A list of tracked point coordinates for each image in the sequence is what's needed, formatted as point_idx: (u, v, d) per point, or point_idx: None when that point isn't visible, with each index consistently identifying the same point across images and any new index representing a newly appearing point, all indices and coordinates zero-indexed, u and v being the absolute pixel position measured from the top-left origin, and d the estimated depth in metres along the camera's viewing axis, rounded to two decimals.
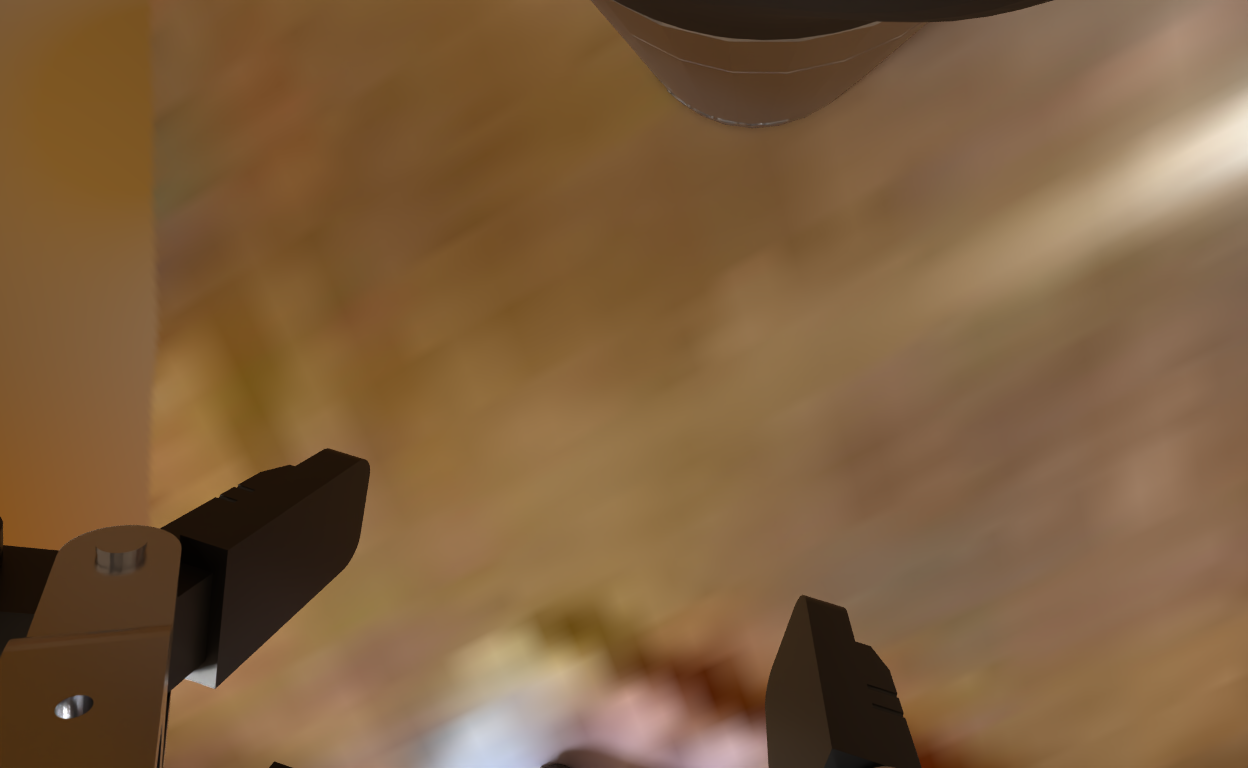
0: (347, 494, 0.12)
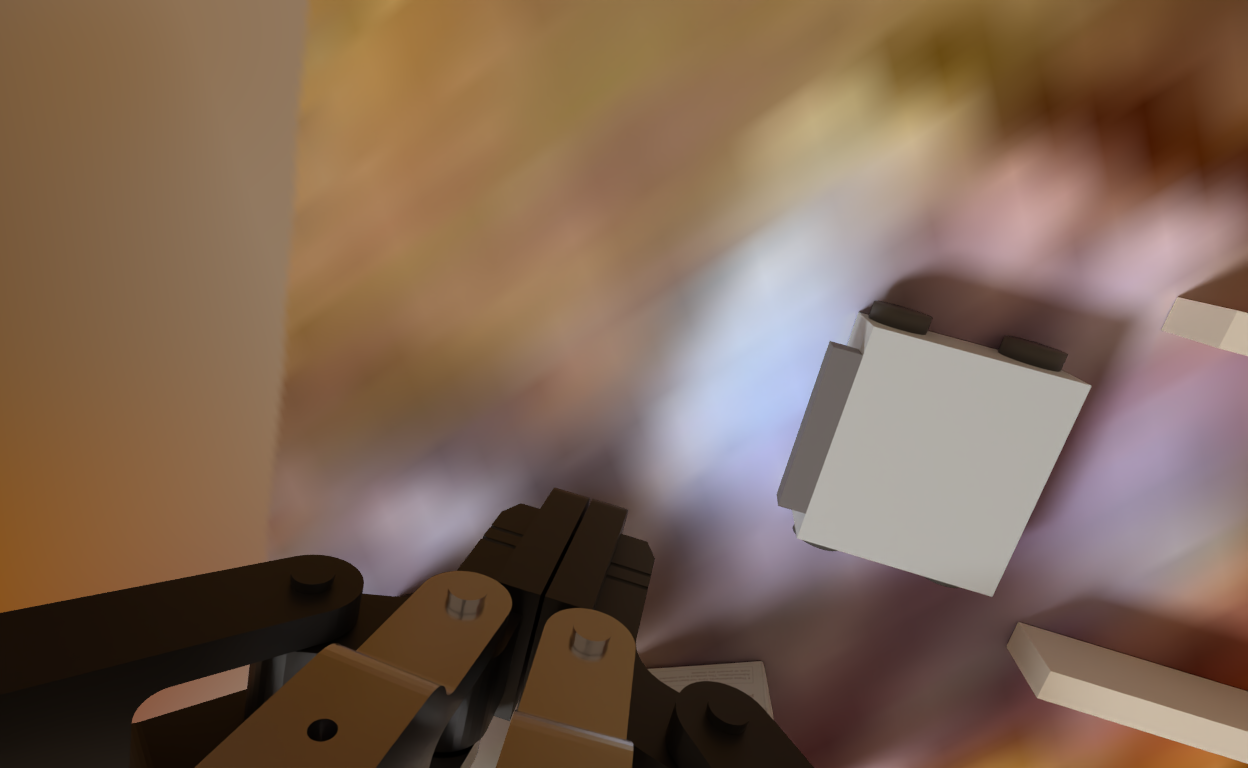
0: None
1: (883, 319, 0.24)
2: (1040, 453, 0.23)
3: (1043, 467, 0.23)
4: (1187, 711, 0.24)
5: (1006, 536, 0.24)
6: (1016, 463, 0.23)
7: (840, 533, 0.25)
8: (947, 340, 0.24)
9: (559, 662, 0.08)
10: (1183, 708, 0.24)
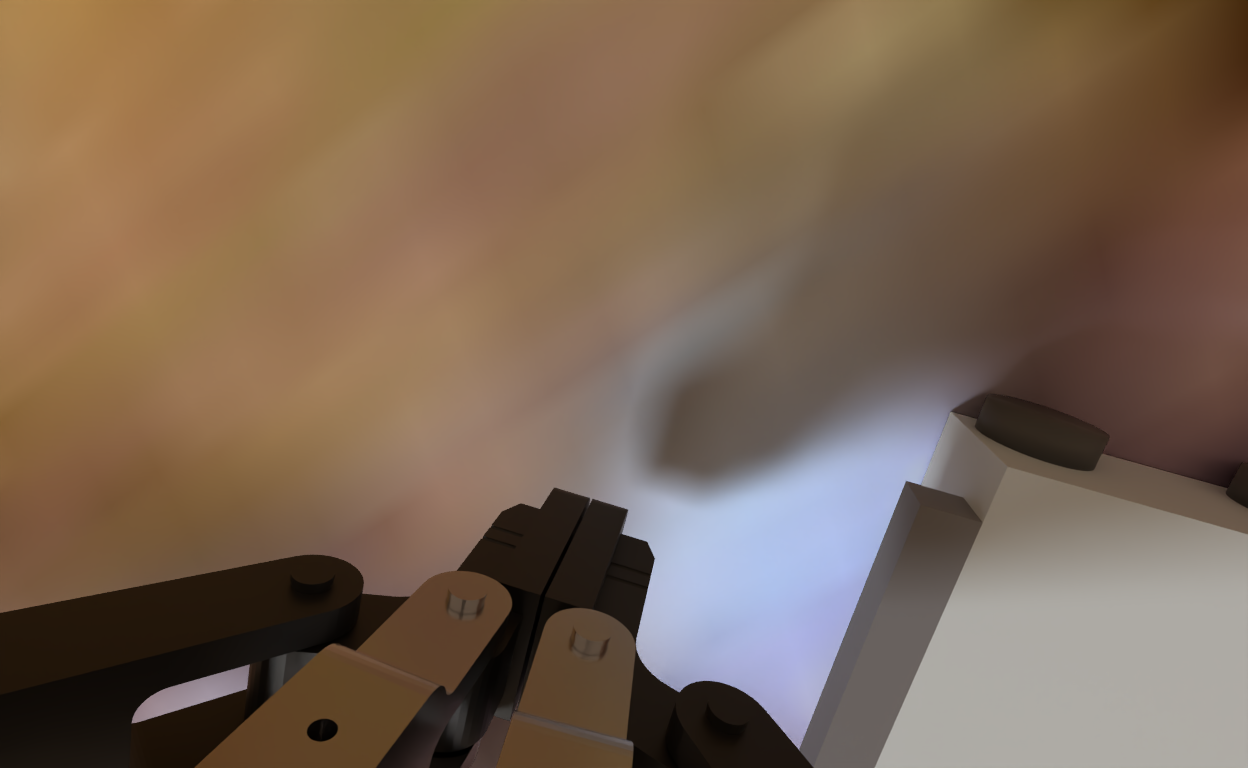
0: None
1: (1013, 440, 0.12)
2: None
3: None
4: None
5: None
6: None
7: None
8: (1137, 479, 0.12)
9: (559, 662, 0.08)
10: None
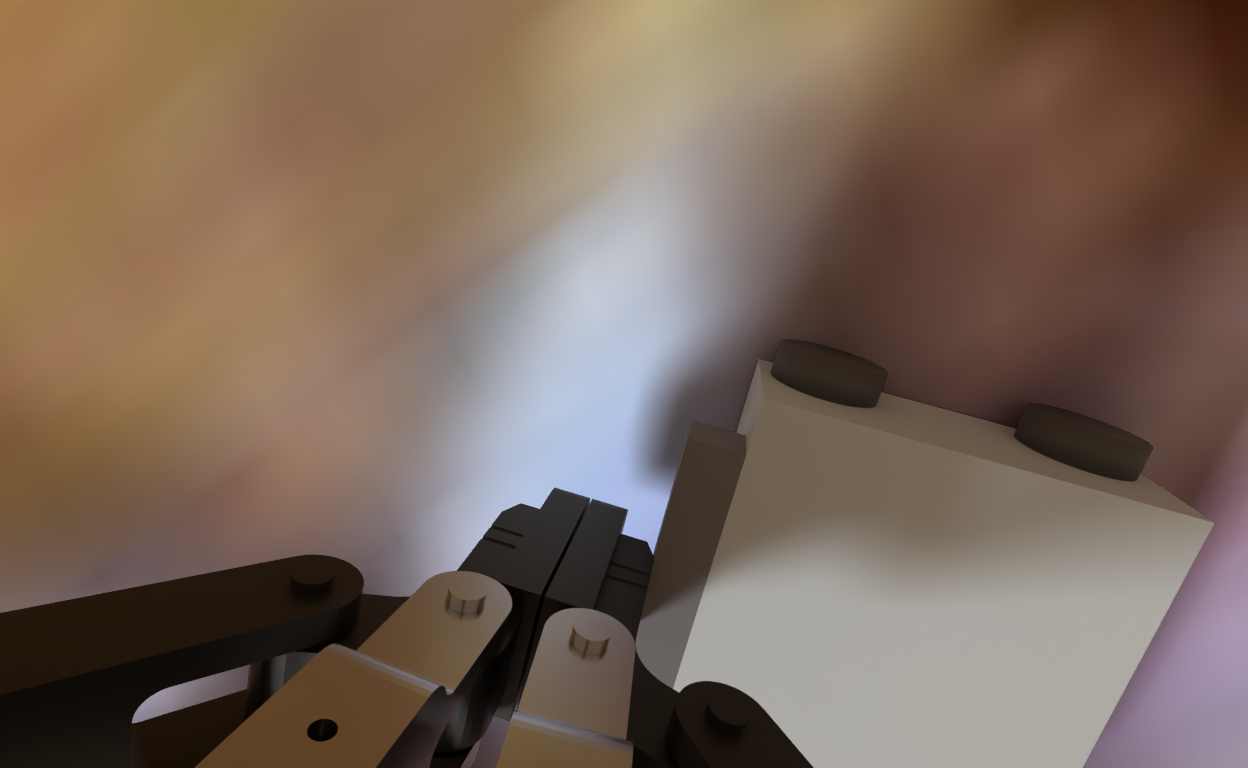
0: None
1: (792, 378, 0.12)
2: (1105, 651, 0.11)
3: (1110, 677, 0.11)
4: None
5: None
6: (1056, 666, 0.11)
7: None
8: (917, 417, 0.12)
9: (559, 662, 0.08)
10: None
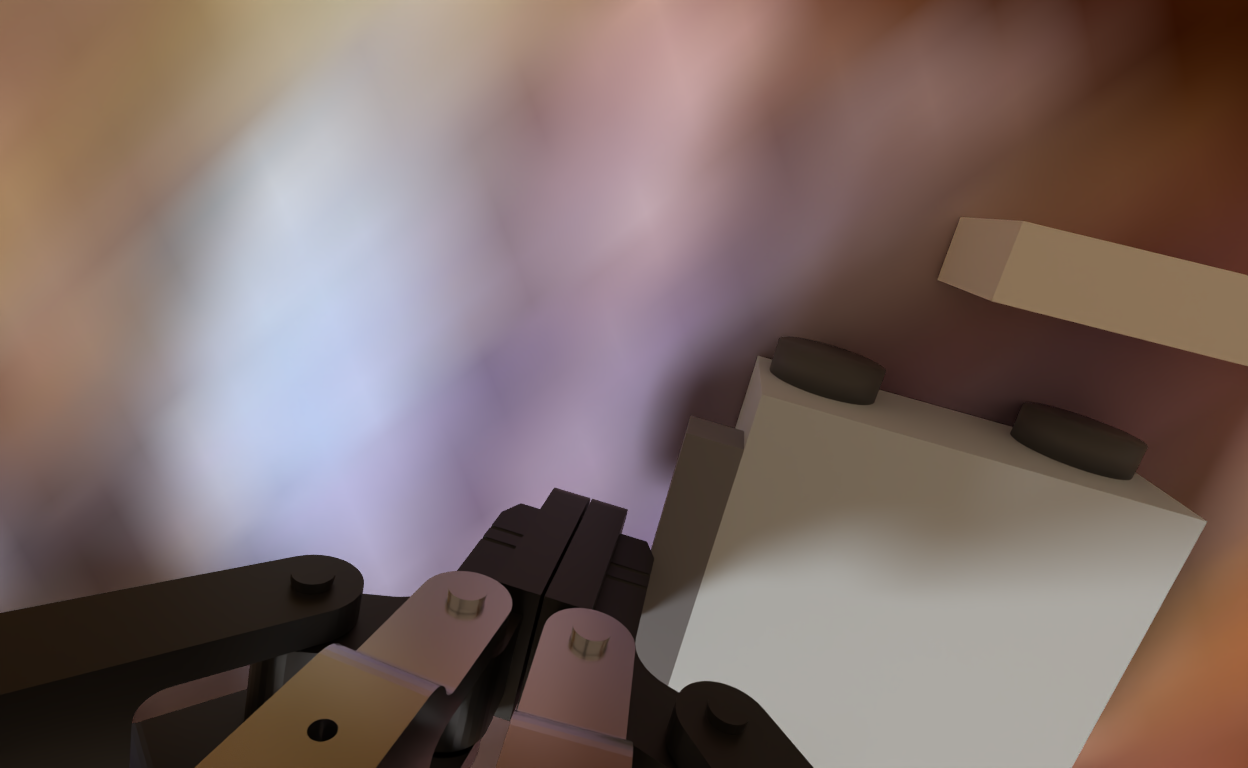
0: None
1: (791, 375, 0.12)
2: (1097, 647, 0.11)
3: (1102, 673, 0.11)
4: None
5: None
6: (1048, 662, 0.12)
7: None
8: (914, 414, 0.13)
9: (559, 662, 0.08)
10: None
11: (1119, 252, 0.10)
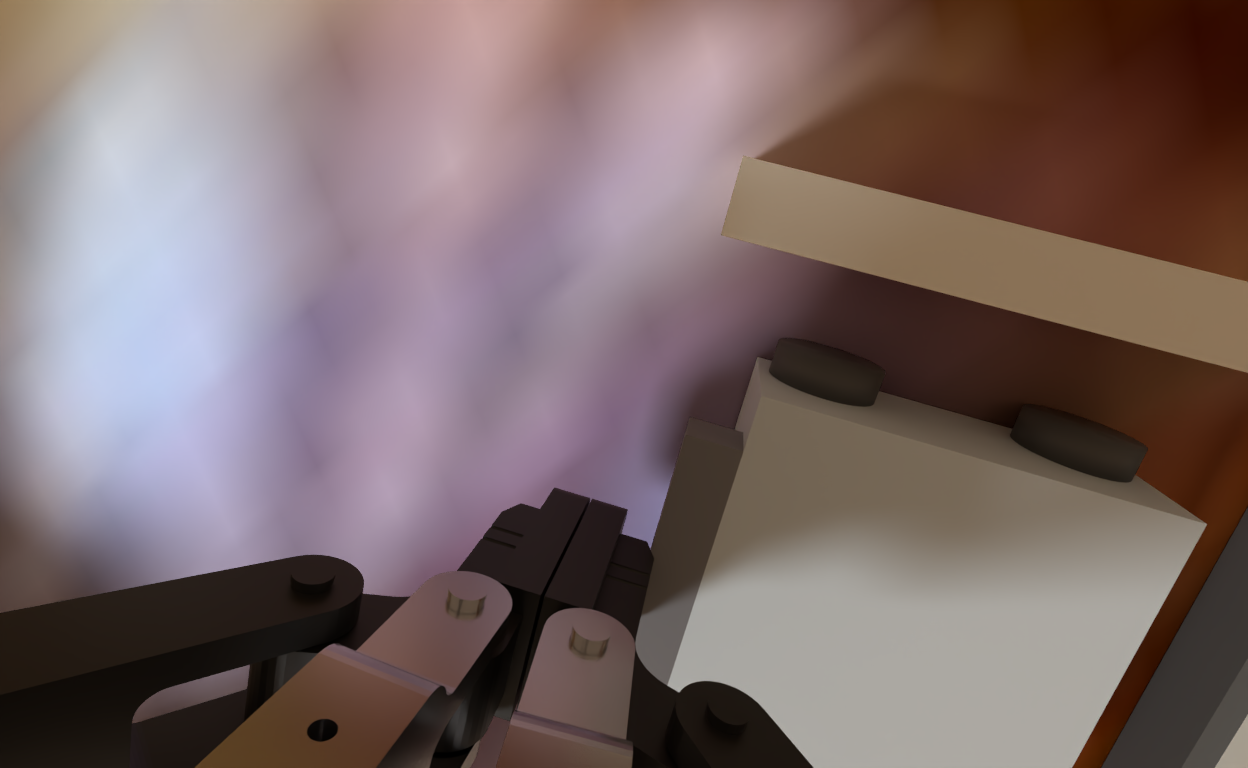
0: None
1: (790, 376, 0.12)
2: (1097, 651, 0.11)
3: (1102, 676, 0.11)
4: None
5: None
6: (1048, 665, 0.12)
7: None
8: (914, 416, 0.13)
9: (559, 662, 0.08)
10: None
11: (833, 186, 0.10)
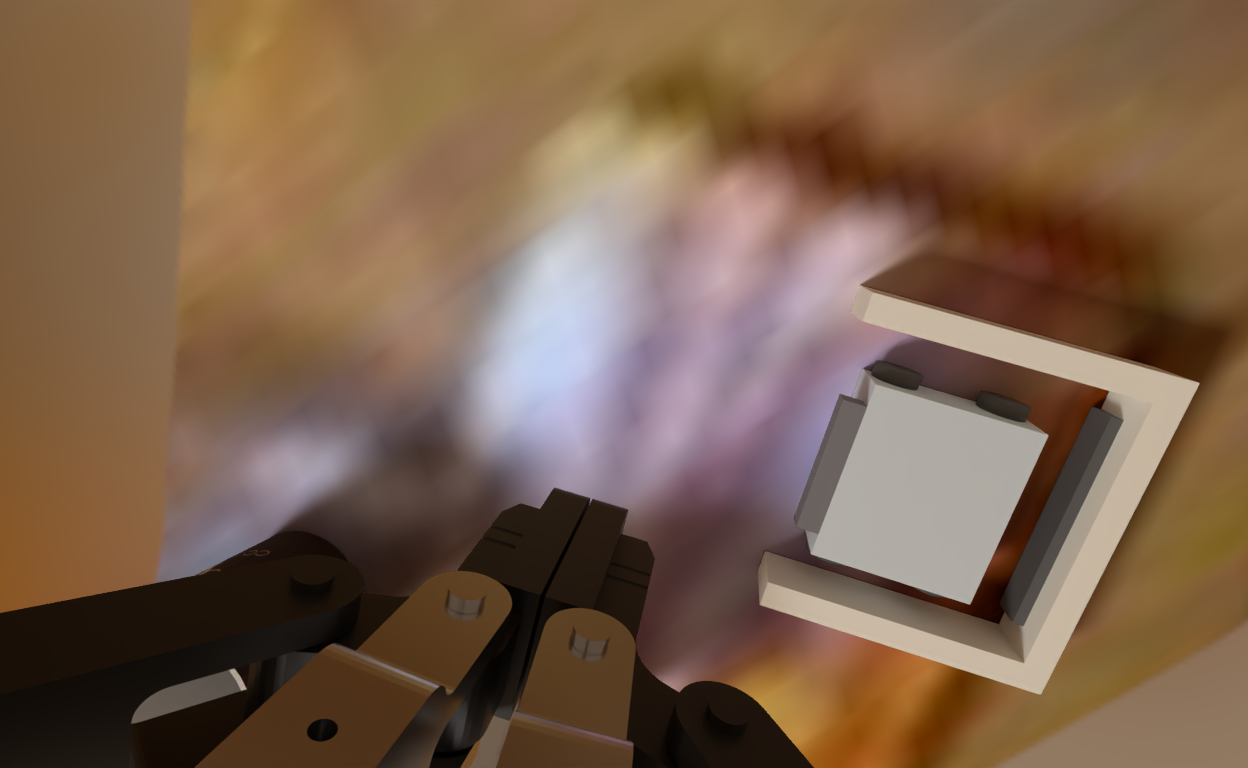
0: None
1: (883, 377, 0.29)
2: (1008, 488, 0.28)
3: (1011, 499, 0.28)
4: (873, 614, 0.31)
5: (981, 555, 0.29)
6: (989, 495, 0.28)
7: (846, 550, 0.30)
8: (934, 394, 0.29)
9: (559, 662, 0.08)
10: (871, 612, 0.31)
11: (907, 304, 0.27)
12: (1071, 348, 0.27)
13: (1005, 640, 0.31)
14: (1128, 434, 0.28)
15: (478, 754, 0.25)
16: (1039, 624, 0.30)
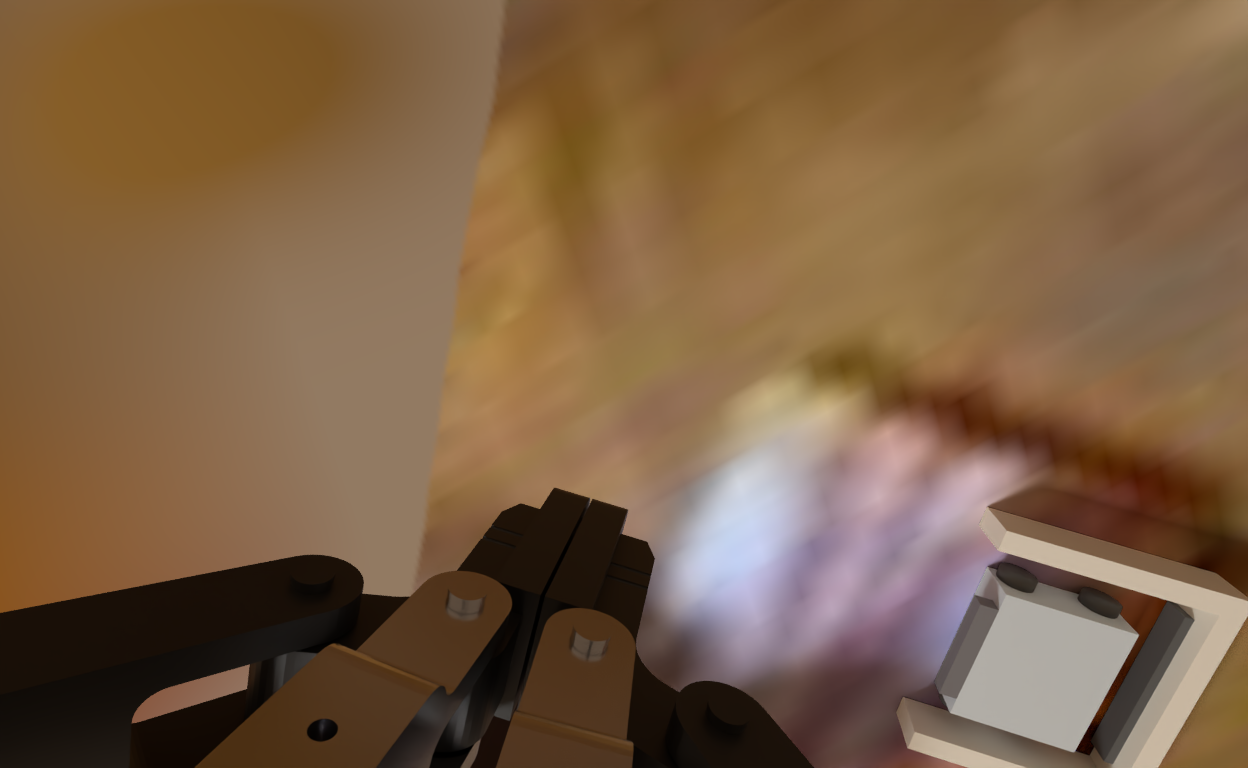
0: None
1: (1008, 582, 0.38)
2: (1107, 671, 0.37)
3: (1108, 679, 0.37)
4: (997, 756, 0.40)
5: (1084, 717, 0.38)
6: (1091, 675, 0.38)
7: (978, 711, 0.39)
8: (1047, 594, 0.39)
9: (559, 662, 0.08)
10: (995, 755, 0.40)
11: (1032, 540, 0.36)
12: (1158, 575, 0.36)
13: None
14: (1199, 633, 0.37)
15: None
16: (1127, 767, 0.39)
